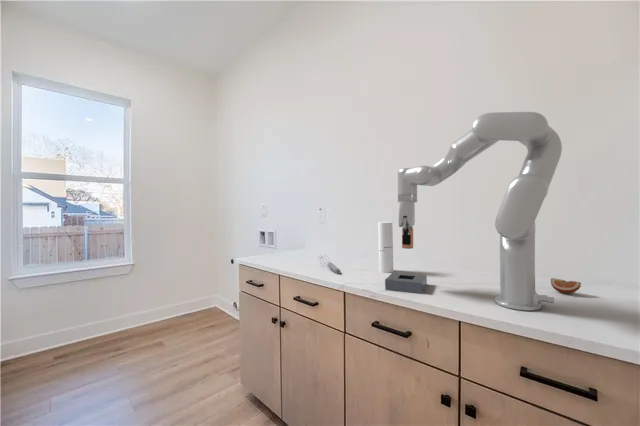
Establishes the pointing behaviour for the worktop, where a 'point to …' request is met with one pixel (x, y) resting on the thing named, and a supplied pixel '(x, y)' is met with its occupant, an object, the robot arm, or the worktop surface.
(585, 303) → the worktop surface
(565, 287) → the fruit slice
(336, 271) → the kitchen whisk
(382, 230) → the cylindrical container
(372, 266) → the worktop surface
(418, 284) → the socket block
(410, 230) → the plug
